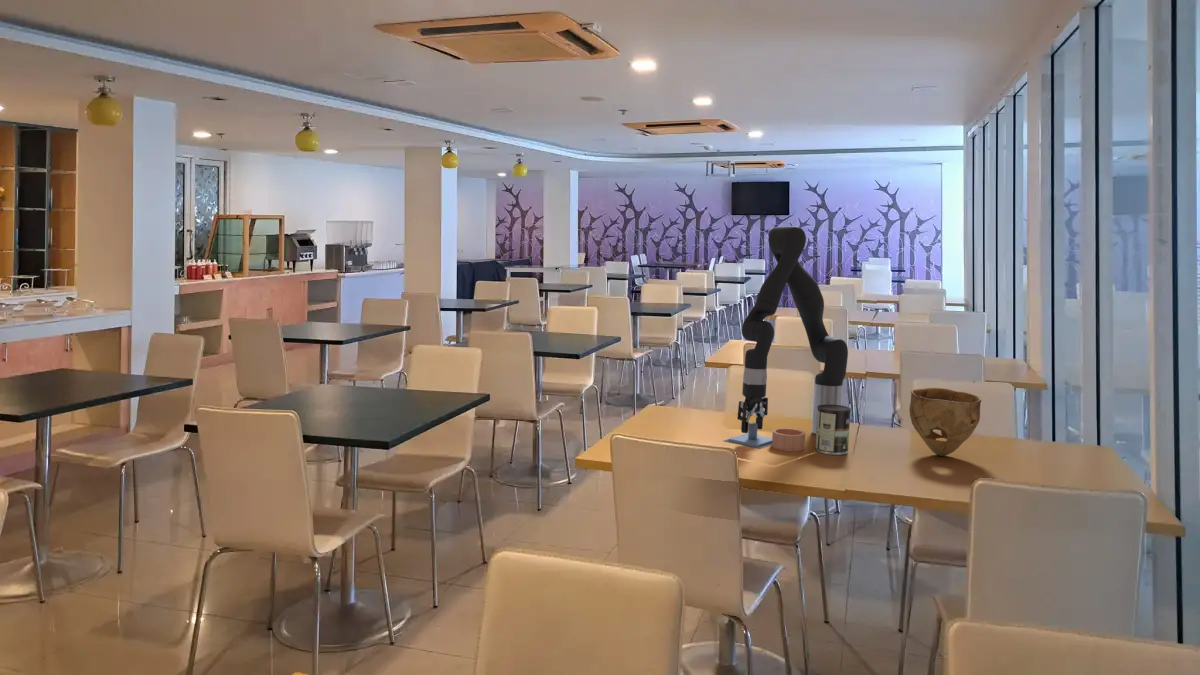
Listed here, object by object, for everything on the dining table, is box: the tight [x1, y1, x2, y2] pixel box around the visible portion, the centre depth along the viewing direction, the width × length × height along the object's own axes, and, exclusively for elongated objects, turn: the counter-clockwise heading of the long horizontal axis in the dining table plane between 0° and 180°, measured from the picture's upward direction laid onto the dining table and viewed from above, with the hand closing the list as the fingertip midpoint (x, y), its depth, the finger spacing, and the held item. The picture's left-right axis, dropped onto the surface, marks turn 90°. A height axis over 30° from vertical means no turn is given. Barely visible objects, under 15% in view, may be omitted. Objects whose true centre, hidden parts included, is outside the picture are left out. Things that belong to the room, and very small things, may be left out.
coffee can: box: [815, 404, 852, 456], centre depth 295 cm, size 10×10×14 cm
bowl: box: [908, 387, 982, 457], centre depth 292 cm, size 21×20×20 cm
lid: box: [728, 422, 772, 447], centre depth 302 cm, size 11×11×6 cm
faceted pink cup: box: [771, 427, 806, 452], centre depth 296 cm, size 10×10×6 cm
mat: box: [723, 438, 772, 450], centre depth 303 cm, size 14×14×1 cm
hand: (751, 430), depth 302 cm, fingers open, 8 cm apart
